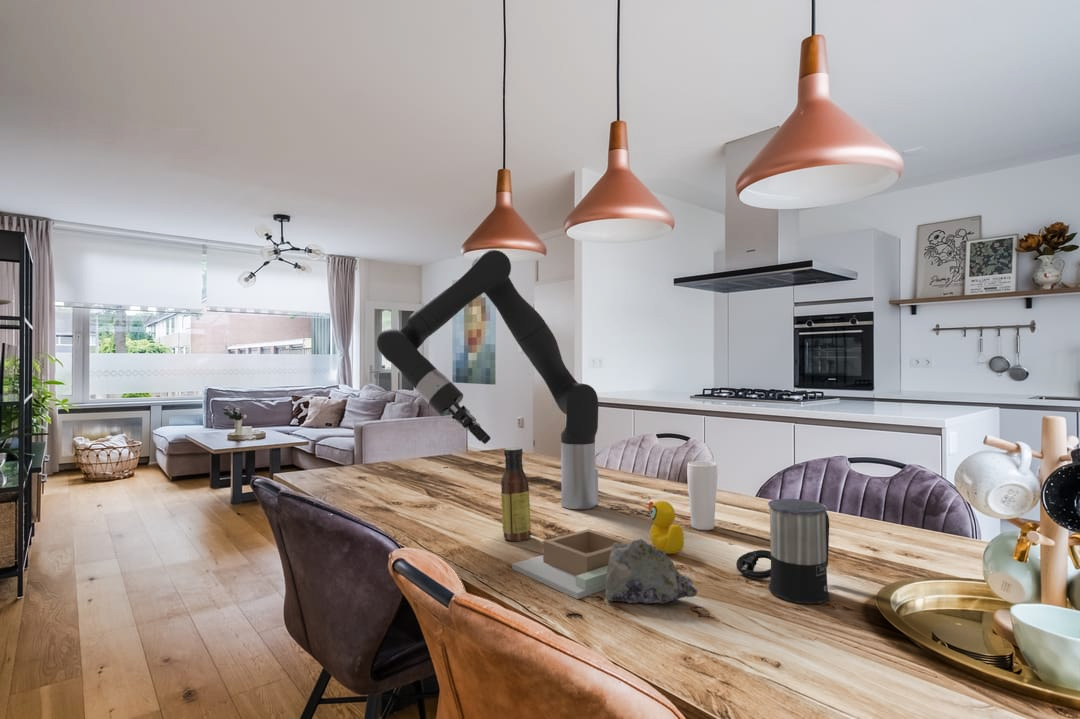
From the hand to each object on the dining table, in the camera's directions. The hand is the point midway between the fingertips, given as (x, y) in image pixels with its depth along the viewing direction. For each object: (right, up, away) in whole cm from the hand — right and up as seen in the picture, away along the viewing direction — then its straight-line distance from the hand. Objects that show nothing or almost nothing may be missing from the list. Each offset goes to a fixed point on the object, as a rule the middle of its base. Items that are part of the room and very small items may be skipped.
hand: (486, 440), depth 134 cm
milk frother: (+54, -20, -36) cm, 68 cm away
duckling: (+38, -20, -18) cm, 47 cm away
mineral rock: (+30, -20, -43) cm, 56 cm away
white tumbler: (+51, -20, -2) cm, 55 cm away
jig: (+22, -20, -28) cm, 41 cm away
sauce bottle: (+7, -21, -8) cm, 24 cm away
